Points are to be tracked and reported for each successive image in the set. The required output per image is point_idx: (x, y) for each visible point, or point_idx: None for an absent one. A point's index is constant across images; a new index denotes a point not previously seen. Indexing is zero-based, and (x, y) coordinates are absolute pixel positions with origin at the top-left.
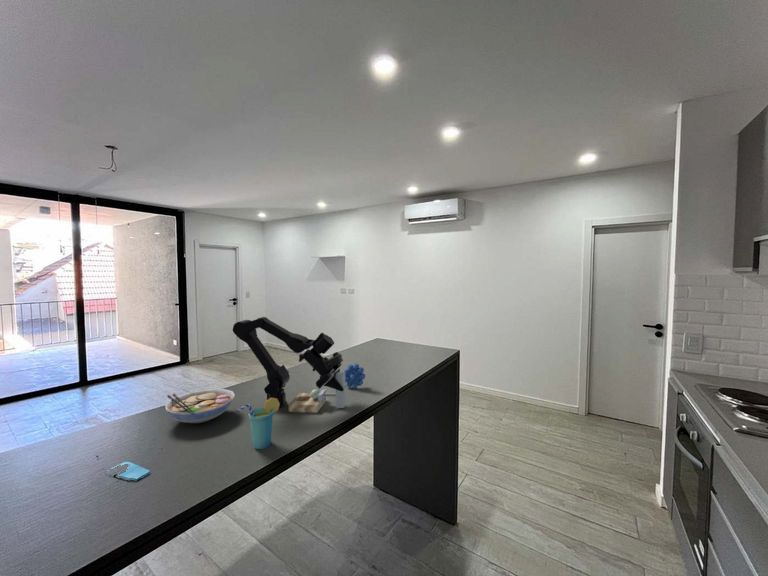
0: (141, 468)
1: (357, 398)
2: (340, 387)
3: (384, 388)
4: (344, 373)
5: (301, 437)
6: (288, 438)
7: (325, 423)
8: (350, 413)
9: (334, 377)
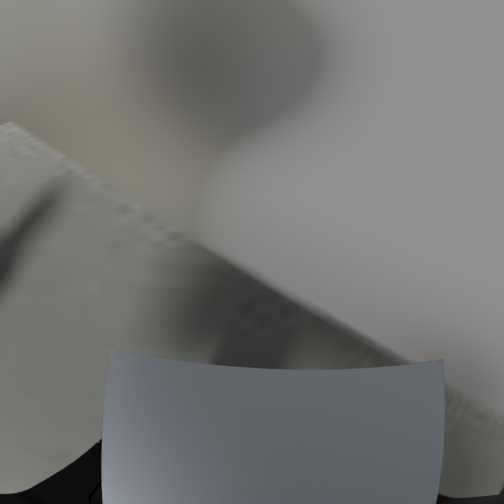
0: None
1: (76, 310)
2: None
3: (13, 183)
4: (220, 368)
5: (489, 449)
6: (489, 480)
7: None
8: (309, 339)
9: (502, 496)
